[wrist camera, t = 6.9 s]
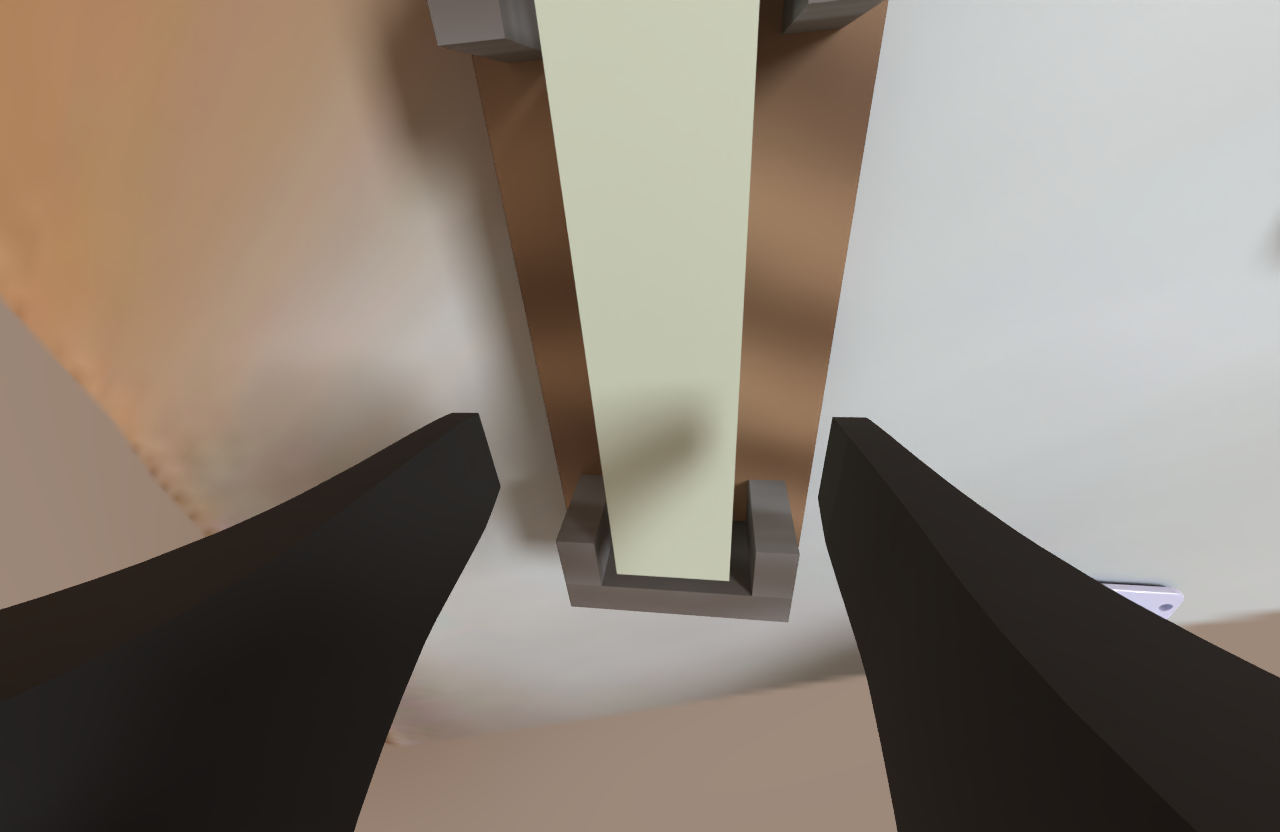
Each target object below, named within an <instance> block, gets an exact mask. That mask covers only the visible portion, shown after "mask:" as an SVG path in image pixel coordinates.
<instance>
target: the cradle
mask: <svg viewBox="0 0 1280 832" xmlns="http://www.w3.org/2000/svg"><path fill="white" fill-rule="evenodd" d="M427 3H428V7H429V11H430V15H431V19H432V23H433V28H434V32H435V36H436V40H437V44H438V46H440V47H444V48H448V49H452V50H456V51H460V52H464V53H468V54H472V58H473V63H474V68H475V73H476V78H477V82H478V87H479V92H480V97H481V101H482V106H483V111H484V116H485V121H486V125H487V130H488V135H489V140H490V144H491V149H492V154H493V159H494V164H495V168H496V173H497V178H498V183H499V187H500V192H501V197H502V202H503V207H504V211H505V216H506V221H507V226H508V230H509V235H510V240H511V245H512V250H513V254H514V259H515V264H516V269H517V274H518V278H519V283H520V288H521V293H522V297H523V302H524V307H525V312H526V317H527V321H528V326H529V331H530V336H531V340H532V345H533V350H534V355H535V360H536V364H537V369H538V374H539V379H540V383H541V388H542V393H543V398H544V403H545V407H546V412H547V417H548V422H549V426H550V431H551V436H552V441H553V446H554V450H555V455H556V460H557V465H558V469H559V474H560V479H561V484H562V489H563V493H564V498H565V503H566V508H567V513H566V515H565V518H564V521H563V524H562V526H561V529H560V532H559V534H558V537H557V540H556V544H557V548H558V552H559V556H560V561H561V565H562V569H563V573H564V577H565V582H566V586H567V590H568V594H569V598H570V603H571V606H575V607H588V608H602V609H615V610H629V611H642V612H656V613H669V614H683V615H696V616H710V617H723V618H737V619H750V620H764V621H777V622H788V620H789V614H790V608H791V602H792V596H793V590H794V584H795V578H796V573H797V567H798V561H799V555H800V554H799V549H798V547H799V541H800V535H801V529H802V523H803V517H804V511H805V504H806V498H807V492H808V486H809V480H810V474H811V468H812V462H813V456H814V450H815V444H816V438H817V432H818V425H819V419H820V413H821V407H822V401H823V395H824V389H825V383H826V377H827V371H828V365H829V359H830V352H831V346H832V340H833V334H834V328H835V322H836V316H837V310H838V304H839V298H840V292H841V286H842V279H843V273H844V267H845V261H846V255H847V249H848V243H849V237H850V231H851V225H852V219H853V213H854V206H855V200H856V194H857V188H858V182H859V176H860V170H861V164H862V158H863V152H864V146H865V140H866V134H867V127H868V121H869V115H870V109H871V103H872V97H873V91H874V85H875V79H876V73H877V67H878V61H879V54H880V48H881V42H882V36H883V30H884V24H885V18H886V12H887V6H888V0H760V3H759V22H758V41H757V60H756V80H755V99H754V118H753V137H752V156H751V175H750V194H749V213H748V232H747V251H746V270H745V289H744V308H743V327H742V346H741V365H740V384H739V403H738V422H737V441H736V460H735V479H734V498H733V517H732V536H731V555H730V574H729V581H720V580H704V579H689V578H673V577H657V576H641V575H625V574H617V571H616V564H615V557H614V550H613V543H612V536H611V529H610V522H609V515H608V508H607V501H606V494H605V487H604V480H603V473H602V466H601V459H600V453H599V446H598V439H597V432H596V425H595V418H594V411H593V404H592V397H591V390H590V383H589V376H588V369H587V362H586V355H585V348H584V342H583V335H582V328H581V321H580V314H579V307H578V300H577V293H576V286H575V279H574V272H573V265H572V258H571V251H570V244H569V237H568V231H567V224H566V217H565V210H564V203H563V196H562V189H561V182H560V175H559V168H558V161H557V154H556V147H555V140H554V133H553V126H552V119H551V113H550V106H549V99H548V92H547V85H546V78H545V71H544V64H543V57H542V50H541V43H540V36H539V29H538V22H537V15H536V8H535V2H534V0H427Z"/></svg>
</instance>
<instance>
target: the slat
mask: <svg viewBox="0 0 1280 832" xmlns="http://www.w3.org/2000/svg"><path fill="white" fill-rule="evenodd" d="M534 2H535V8H536V15H537V22H538V29H539V36H540V43H541V50H542V57H543V64H544V71H545V78H546V85H547V92H548V99H549V106H550V113H551V119H552V126H553V133H554V140H555V147H556V154H557V161H558V168H559V175H560V182H561V189H562V196H563V203H564V210H565V217H566V224H567V231H568V237H569V244H570V251H571V258H572V265H573V272H574V279H575V286H576V293H577V300H578V307H579V314H580V321H581V328H582V335H583V342H584V348H585V355H586V362H587V369H588V376H589V383H590V390H591V397H592V404H593V411H594V418H595V425H596V432H597V439H598V446H599V453H600V459H601V466H602V473H603V480H604V487H605V494H606V501H607V508H608V515H609V522H610V529H611V536H612V543H613V550H614V557H615V564H616V571H617V574H625V575H641V576H657V577H673V578H689V579H704V580H720V581H729V574H730V555H731V536H732V517H733V498H734V479H735V460H736V441H737V422H738V403H739V384H740V365H741V346H742V327H743V308H744V289H745V270H746V251H747V232H748V213H749V194H750V175H751V156H752V137H753V118H754V99H755V80H756V60H757V41H758V22H759V3H760V0H534Z"/></svg>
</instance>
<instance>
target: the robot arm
mask: <svg viewBox="0 0 1280 832" xmlns="http://www.w3.org/2000/svg"><path fill="white" fill-rule="evenodd" d="M500 487H501V486H500V483H499V480H498V476H497V473H496V470H495V466H494V463H493V460H492V456H491V453H490V450H489V446H488V443H487V440H486V437H485V433H484V430H483V427H482V423H481V420H480V417H479V413H451V414H448V415H446V416H444V417H442V418H439V419H437V420H435V421H433V422H432V423H430V424H428V425H426V426H424V427H422V428H420V429H419V430H417V431H415V432H413V433H411V434H410V435H408V436H406V437H404V438H403V439H401V440H399V441H397V442H396V443H394V444H392V445H390V446H388V447H387V448H385V449H383V450H381V451H380V452H378V453H376V454H374V455H373V456H371V457H369V458H367V459H366V460H364V461H362V462H360V463H359V464H357V465H355V466H353V467H351V468H349V469H347V470H346V471H344V472H342V473H340V474H338V475H336V476H334V477H332V478H331V479H329V480H327V481H325V482H323V483H321V484H319V485H317V486H316V487H314V488H312V489H310V490H308V491H306V492H304V493H302V494H300V495H298V496H296V497H294V498H292V499H290V500H288V501H286V502H284V503H282V504H280V505H278V506H276V507H274V508H272V509H270V510H267V511H265V512H263V513H261V514H259V515H256V516H254V517H252V518H250V519H248V520H245V521H243V522H241V523H239V524H236V525H234V526H232V527H230V528H227V529H225V530H223V531H220V532H218V533H215V534H213V535H210V536H208V537H205V538H203V539H200V540H198V541H196V542H193V543H190V544H188V545H185V546H183V547H180V548H178V549H175V550H172V551H170V552H167V553H165V554H162V555H160V556H157V557H155V558H152V559H150V560H147V561H144V562H142V563H139V564H136V565H134V566H131V567H128V568H125V569H122V570H120V571H117V572H114V573H111V574H108V575H105V576H102V577H100V578H97V579H94V580H91V581H88V582H85V583H82V584H79V585H76V586H73V587H70V588H67V589H64V590H61V591H58V592H55V593H52V594H49V595H46V596H43V597H40V598H37V599H33V600H30V601H27V602H24V603H21V604H17V605H14V606H11V607H8V608H5V609H1V610H0V832H354V830H355V827H356V823H357V820H358V817H359V814H360V811H361V808H362V805H363V802H364V799H365V797H366V794H367V791H368V788H369V785H370V782H371V779H372V777H373V774H374V771H375V768H376V765H377V762H378V760H379V757H380V754H381V751H382V748H383V746H384V743H385V740H386V738H387V735H388V733H389V730H390V727H391V725H392V722H393V720H394V717H395V714H396V712H397V709H398V707H399V704H400V701H401V699H402V696H403V694H404V691H405V689H406V686H407V684H408V682H409V679H410V677H411V675H412V672H413V670H414V667H415V665H416V663H417V660H418V658H419V655H420V653H421V651H422V648H423V646H424V644H425V641H426V639H427V637H428V635H429V633H430V631H431V629H432V627H433V625H434V623H435V621H436V619H437V617H438V615H439V614H440V612H441V610H442V608H443V606H444V604H445V603H446V601H447V599H448V597H449V595H450V593H451V591H452V590H453V588H454V586H455V584H456V582H457V580H458V579H459V577H460V575H461V573H462V571H463V569H464V568H465V566H466V564H467V562H468V560H469V558H470V556H471V555H472V553H473V551H474V549H475V547H476V545H477V543H478V541H479V539H480V537H481V536H482V534H483V532H484V530H485V528H486V525H487V523H488V520H489V518H490V515H491V512H492V510H493V507H494V504H495V501H496V498H497V496H498V493H499V490H500ZM818 501H819V507H820V513H821V520H822V526H823V531H824V536H825V542H826V546H827V549H828V553H829V556H830V559H831V563H832V566H833V569H834V572H835V576H836V579H837V582H838V585H839V588H840V592H841V595H842V598H843V601H844V604H845V607H846V611H847V614H848V617H849V620H850V623H851V626H852V630H853V633H854V636H855V639H856V642H857V645H858V649H859V652H860V655H861V659H862V662H863V666H864V670H865V673H866V677H867V681H868V685H869V689H870V694H871V699H872V704H873V709H874V713H875V718H876V723H877V728H878V732H879V737H880V742H881V746H882V752H883V757H884V762H885V768H886V773H887V778H888V783H889V788H890V793H891V798H892V804H893V809H894V814H895V820H896V825H897V831H898V832H1280V678H1279V677H1277V676H1275V675H1273V674H1271V673H1269V672H1267V671H1265V670H1263V669H1261V668H1259V667H1257V666H1255V665H1253V664H1251V663H1249V662H1247V661H1245V660H1243V659H1241V658H1239V657H1237V656H1235V655H1233V654H1231V653H1229V652H1227V651H1225V650H1223V649H1221V648H1219V647H1217V646H1215V645H1213V644H1211V643H1209V642H1208V641H1206V640H1204V639H1202V638H1200V637H1198V636H1196V635H1194V634H1192V633H1191V632H1189V631H1187V630H1185V629H1183V628H1181V627H1179V626H1178V625H1176V624H1174V623H1172V622H1170V621H1168V620H1167V619H1168V618H1169V617H1170V615H1171V614H1172V613H1173V612H1174V611H1175V610H1176V609H1177V608H1178V606H1179V605H1180V604H1181V603H1182V602H1183V600H1184V595H1183V594H1182V593H1181V592H1180V591H1179V590H1177V589H1176V588H1171V587H1156V586H1139V585H1121V584H1103V583H1100V582H1098V581H1096V580H1094V579H1093V578H1091V577H1089V576H1088V575H1086V574H1084V573H1083V572H1081V571H1080V570H1078V569H1076V568H1075V567H1073V566H1071V565H1070V564H1068V563H1066V562H1065V561H1063V560H1062V559H1060V558H1058V557H1057V556H1055V555H1053V554H1052V553H1050V552H1048V551H1047V550H1045V549H1044V548H1042V547H1040V546H1039V545H1037V544H1036V543H1034V542H1033V541H1031V540H1030V539H1028V538H1026V537H1025V536H1023V535H1022V534H1020V533H1019V532H1017V531H1016V530H1014V529H1013V528H1011V527H1010V526H1009V525H1007V524H1006V523H1004V522H1003V521H1001V520H1000V519H999V518H997V517H996V516H994V515H993V514H991V513H990V512H988V511H987V510H986V509H984V508H983V507H981V506H980V505H978V504H977V503H976V502H974V501H973V500H972V499H970V498H969V497H968V496H966V495H965V494H963V493H962V492H961V491H959V490H958V489H957V488H955V487H954V486H953V485H951V484H950V483H949V482H947V481H946V480H945V479H944V478H942V477H941V476H940V475H938V474H937V473H936V472H935V471H933V470H932V469H931V468H929V467H928V466H927V465H926V464H924V463H923V462H922V461H921V460H919V459H918V458H917V457H916V456H914V455H913V454H912V453H911V452H910V451H908V450H907V449H906V448H905V447H903V446H902V445H901V444H900V443H898V442H897V441H896V440H895V439H894V438H892V437H891V436H890V435H889V434H887V433H886V432H885V431H884V430H882V429H881V428H880V427H879V426H877V425H876V424H875V423H873V422H872V421H871V420H869V419H868V418H854V417H833V418H832V424H831V429H830V435H829V440H828V446H827V451H826V457H825V462H824V468H823V473H822V479H821V484H820V490H819V495H818Z"/></svg>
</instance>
